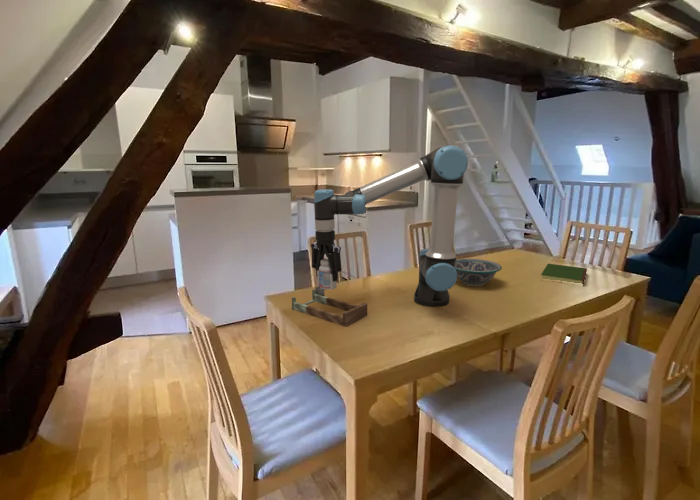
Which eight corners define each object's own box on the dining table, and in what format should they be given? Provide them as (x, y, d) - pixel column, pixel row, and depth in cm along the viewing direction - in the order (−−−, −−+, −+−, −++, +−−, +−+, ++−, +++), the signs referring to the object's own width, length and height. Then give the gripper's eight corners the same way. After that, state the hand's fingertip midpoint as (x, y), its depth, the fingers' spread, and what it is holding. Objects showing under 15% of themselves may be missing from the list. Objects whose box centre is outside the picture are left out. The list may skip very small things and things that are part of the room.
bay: (374, 311, 160) (374, 294, 158) (346, 326, 146) (345, 307, 144) (319, 296, 178) (319, 280, 176) (289, 308, 164) (289, 291, 162)
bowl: (443, 287, 189) (444, 268, 187) (451, 274, 212) (452, 256, 210) (499, 294, 180) (501, 274, 178) (501, 279, 203) (502, 261, 200)
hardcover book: (583, 287, 191) (584, 280, 190) (540, 281, 201) (541, 274, 200) (586, 274, 211) (587, 268, 210) (547, 269, 221) (548, 263, 220)
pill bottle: (319, 285, 161) (318, 258, 159) (334, 284, 162) (333, 258, 159) (319, 290, 155) (318, 262, 153) (335, 289, 156) (334, 262, 153)
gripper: (350, 230, 150) (351, 289, 155) (313, 226, 162) (315, 280, 167) (337, 234, 144) (339, 294, 150) (300, 229, 156) (303, 285, 161)
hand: (326, 286), depth 158 cm, fingers closed on pill bottle, 6 cm apart
